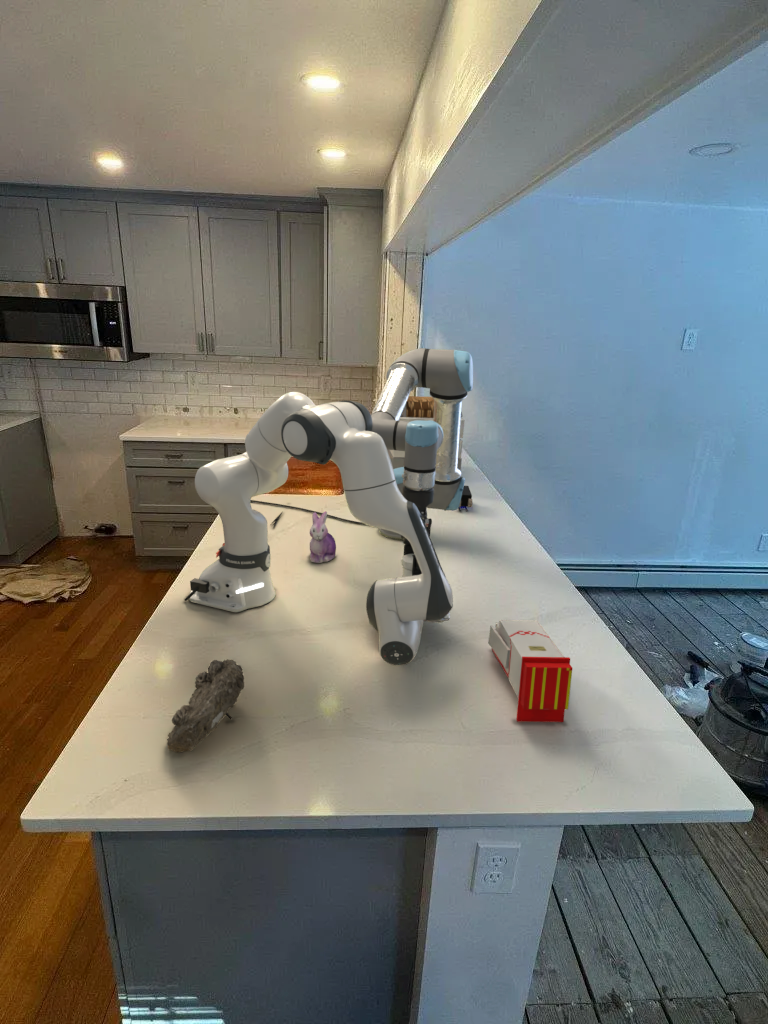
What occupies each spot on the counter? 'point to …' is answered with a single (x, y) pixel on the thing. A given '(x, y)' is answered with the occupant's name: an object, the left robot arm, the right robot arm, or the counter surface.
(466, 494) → the figurine character
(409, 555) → the lid
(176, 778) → the counter surface
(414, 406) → the transformer
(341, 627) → the counter surface
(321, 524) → the figurine
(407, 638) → the left robot arm
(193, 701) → the fossil
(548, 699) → the toy
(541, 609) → the counter surface
